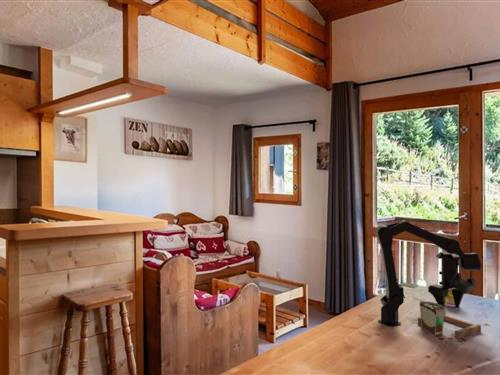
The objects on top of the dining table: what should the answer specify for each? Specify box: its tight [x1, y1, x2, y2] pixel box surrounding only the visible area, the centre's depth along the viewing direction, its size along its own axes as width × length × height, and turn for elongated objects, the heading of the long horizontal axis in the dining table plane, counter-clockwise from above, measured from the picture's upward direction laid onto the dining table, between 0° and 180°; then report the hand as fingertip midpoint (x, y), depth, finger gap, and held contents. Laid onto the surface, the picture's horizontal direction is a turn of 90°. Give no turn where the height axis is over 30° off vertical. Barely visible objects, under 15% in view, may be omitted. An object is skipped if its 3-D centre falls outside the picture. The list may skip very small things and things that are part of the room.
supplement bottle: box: [445, 290, 457, 308], centre depth 173 cm, size 7×7×13 cm
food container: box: [418, 300, 447, 337], centre depth 142 cm, size 12×6×10 cm, turn 5°
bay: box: [417, 314, 482, 339], centre depth 146 cm, size 14×17×2 cm
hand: (449, 309), depth 146 cm, fingers open, 9 cm apart
